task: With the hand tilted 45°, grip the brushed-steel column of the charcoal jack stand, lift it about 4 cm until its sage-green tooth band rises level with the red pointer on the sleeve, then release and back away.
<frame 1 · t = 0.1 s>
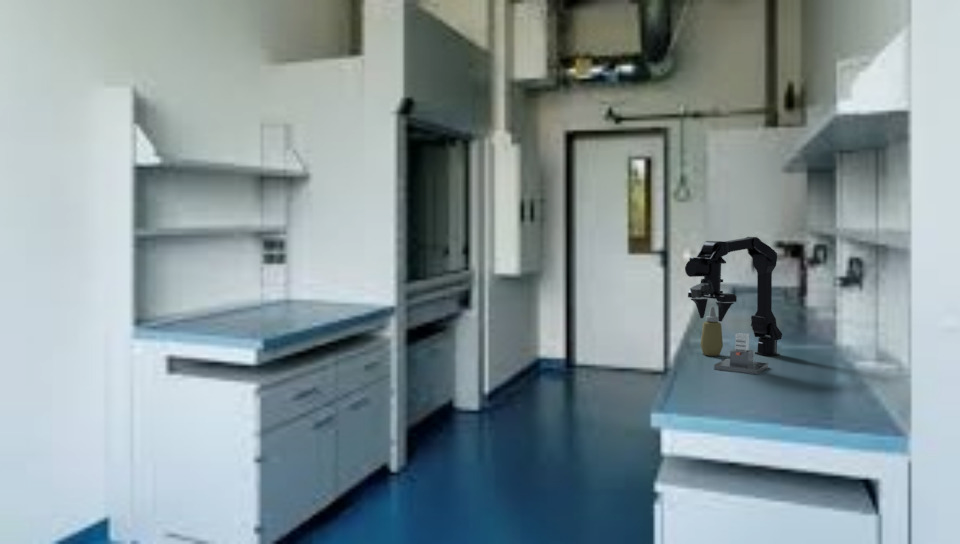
hand: (710, 319, 268), 15 cm above the worktop, tool pointing down, fingers open, 9 cm apart
jack stand: (741, 368, 255), on the worktop
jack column: (741, 348, 254), point 7 cm above the worktop, slide at 0.0 cm
squeeze bottle: (711, 355, 280), on the worktop
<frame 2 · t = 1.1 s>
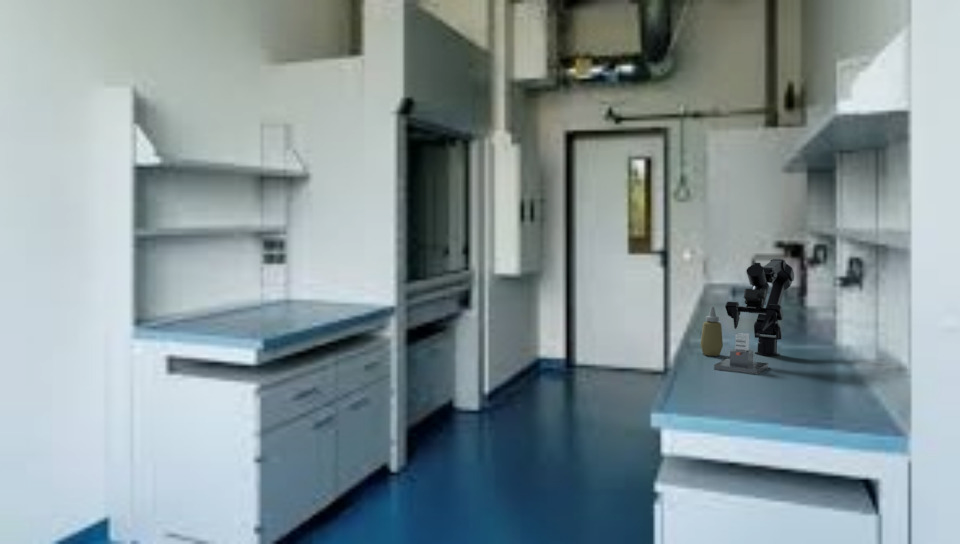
hand: (748, 329, 260), 12 cm above the worktop, tool tilted 45°, fingers open, 9 cm apart
nothing on the worktop moved.
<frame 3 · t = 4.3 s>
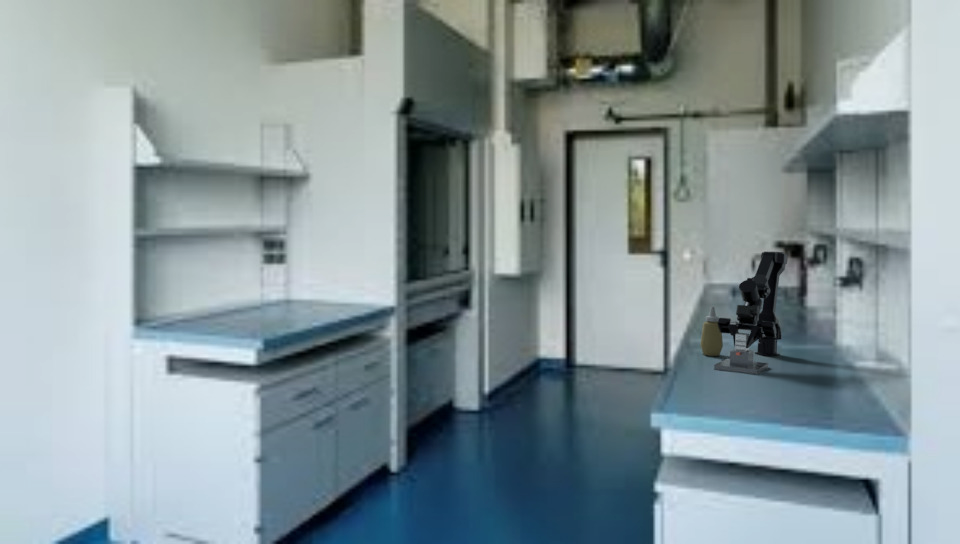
hand: (740, 346, 253), 8 cm above the worktop, tool tilted 45°, fingers closed on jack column, 4 cm apart
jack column: (741, 348, 254), point 7 cm above the worktop, slide at 0.0 cm, touching gripper
everything else where it was.
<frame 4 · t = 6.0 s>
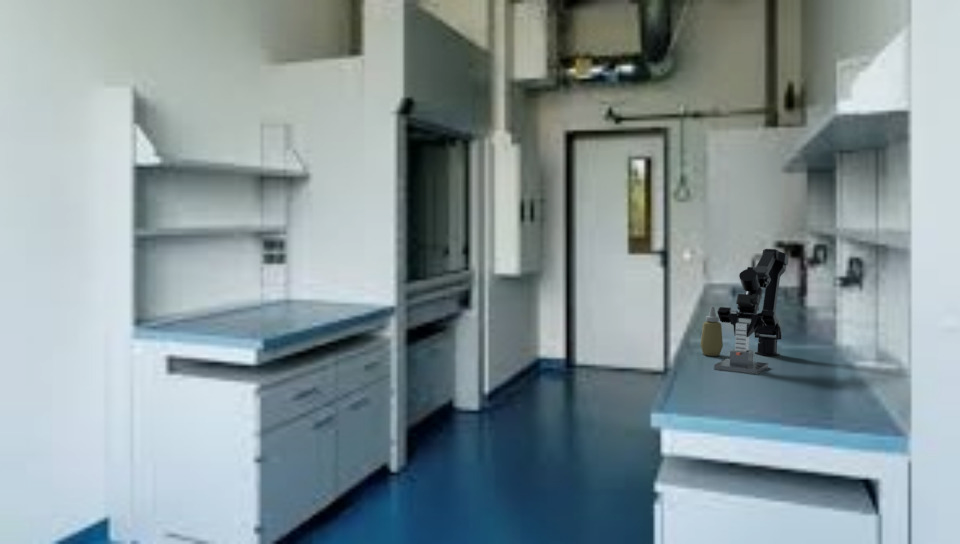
hand: (741, 335, 253), 11 cm above the worktop, tool tilted 45°, fingers closed on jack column, 4 cm apart
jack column: (742, 337, 254), point 10 cm above the worktop, slide at 3.7 cm, touching gripper
everything else where it was.
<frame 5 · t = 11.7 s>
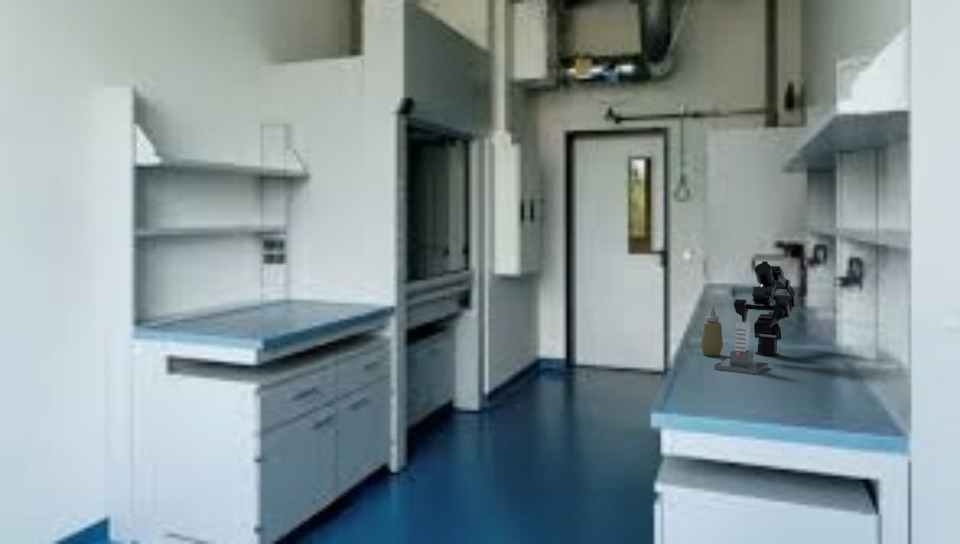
hand: (756, 326, 268), 13 cm above the worktop, tool tilted 45°, fingers open, 9 cm apart
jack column: (742, 337, 254), point 11 cm above the worktop, slide at 3.9 cm
everything else where it was.
at the end: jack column slide at 3.9 cm; the gripper is holding nothing; squeeze bottle moved 0.2 cm from its start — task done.
